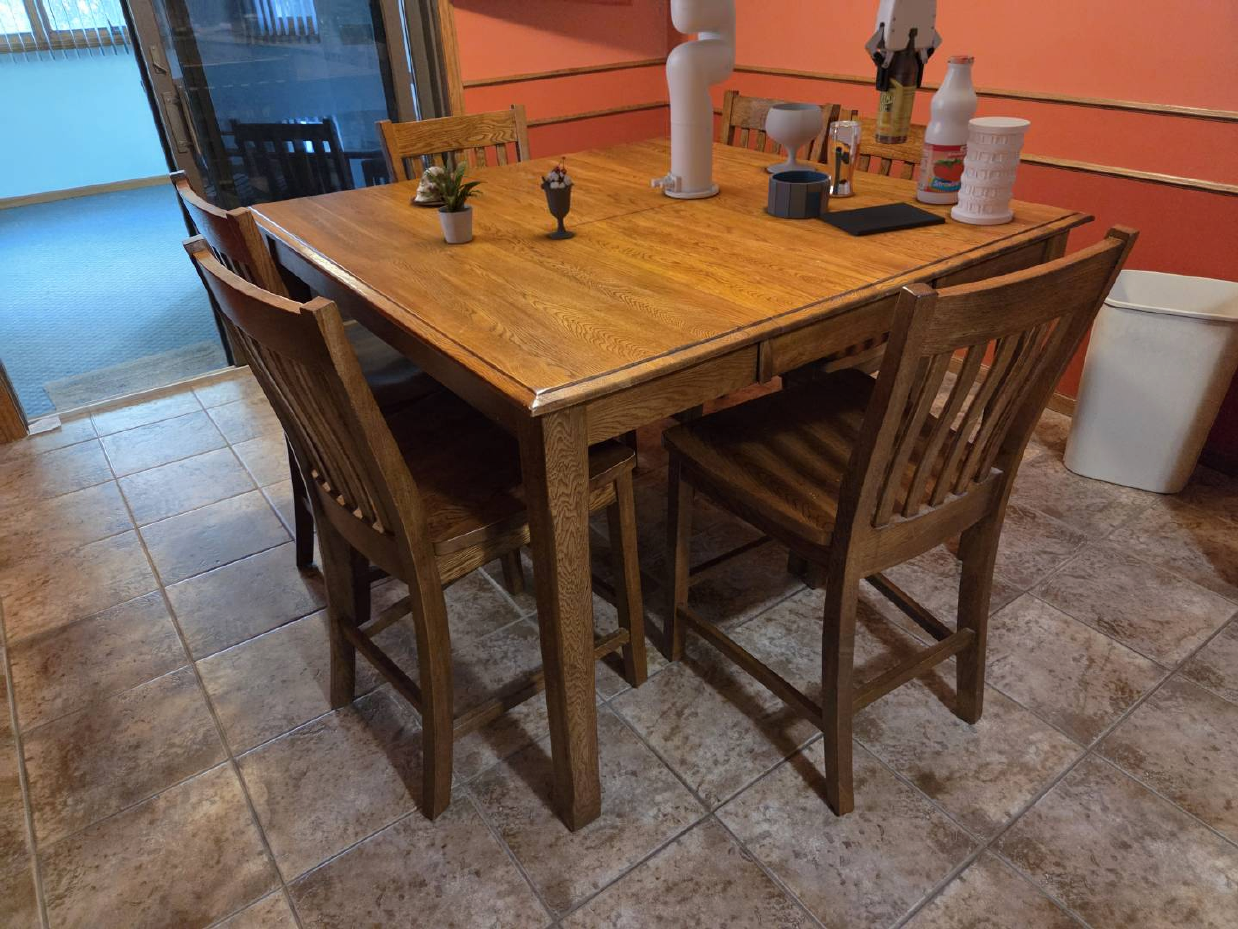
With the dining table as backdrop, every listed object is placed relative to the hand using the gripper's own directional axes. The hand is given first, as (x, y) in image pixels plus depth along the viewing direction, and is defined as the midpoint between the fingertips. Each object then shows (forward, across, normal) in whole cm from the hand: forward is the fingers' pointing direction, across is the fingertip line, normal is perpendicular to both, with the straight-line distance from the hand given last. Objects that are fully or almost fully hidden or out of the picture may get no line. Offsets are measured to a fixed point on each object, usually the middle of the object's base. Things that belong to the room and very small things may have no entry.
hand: (898, 88), depth 152 cm
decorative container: (+25, -19, +6) cm, 32 cm away
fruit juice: (+25, -20, -8) cm, 33 cm away
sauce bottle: (+10, 0, 0) cm, 10 cm away
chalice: (+25, -6, -48) cm, 55 cm away
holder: (+25, +11, -14) cm, 31 cm away
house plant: (+25, +83, -26) cm, 90 cm away
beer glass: (+25, -4, -22) cm, 34 cm away
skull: (+25, +82, -60) cm, 105 cm away
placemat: (+25, 0, 0) cm, 25 cm away
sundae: (+25, +62, -20) cm, 70 cm away
